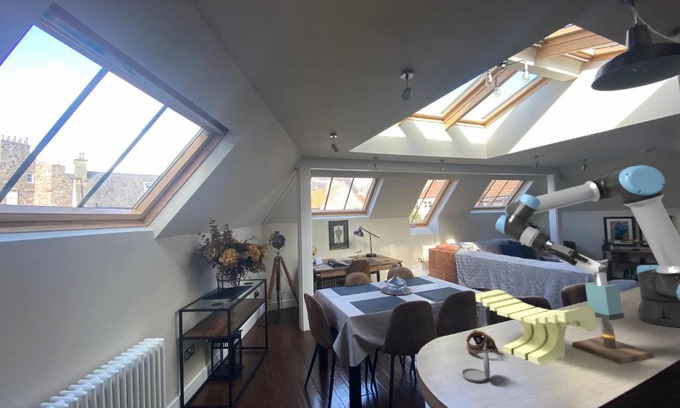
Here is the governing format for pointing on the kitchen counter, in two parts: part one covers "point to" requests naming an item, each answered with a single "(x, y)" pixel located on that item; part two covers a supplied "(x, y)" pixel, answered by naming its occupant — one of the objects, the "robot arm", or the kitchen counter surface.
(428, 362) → the kitchen counter surface
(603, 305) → the sleeve
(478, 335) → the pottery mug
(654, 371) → the kitchen counter surface
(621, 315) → the dark grey square slab
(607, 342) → the pipe stand
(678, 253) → the robot arm
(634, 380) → the kitchen counter surface
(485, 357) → the grey round-based holder
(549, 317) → the slatted curved stool
